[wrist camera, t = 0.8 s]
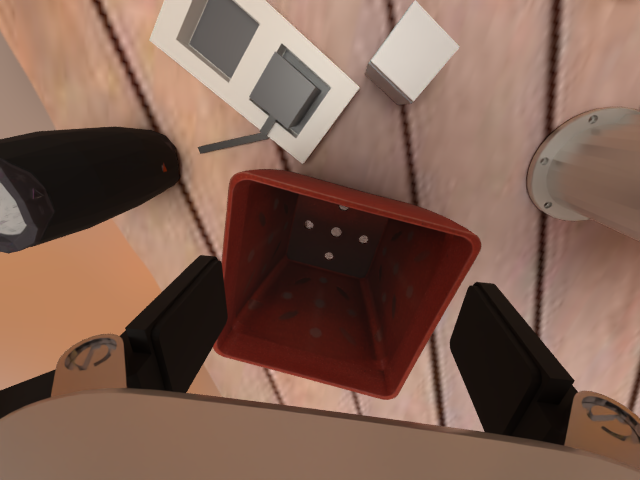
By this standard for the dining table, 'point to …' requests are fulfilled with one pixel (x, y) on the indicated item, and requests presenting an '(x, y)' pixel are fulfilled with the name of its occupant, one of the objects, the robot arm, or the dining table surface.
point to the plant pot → (335, 280)
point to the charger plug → (410, 56)
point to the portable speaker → (77, 180)
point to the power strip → (256, 69)
